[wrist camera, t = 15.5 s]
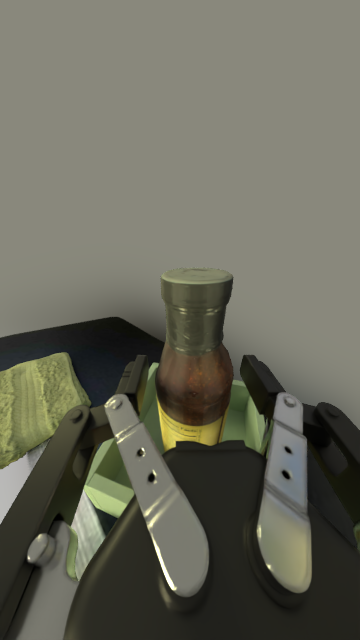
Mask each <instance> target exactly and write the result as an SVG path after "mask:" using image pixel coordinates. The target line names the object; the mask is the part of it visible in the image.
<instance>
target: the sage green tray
mask: <svg viewBox="0 0 360 640" xmlns="http://www.w3.org/2000/svg"><path fill="white" fill-rule="evenodd" d="M158 365H159V364H158V363H153V364H152V366H151V367H150V369H149V375H148V380H147V385H146V390H145V394H144V399H143V404H142V408H141V413H140V416H138V418H139V420H140V421H142V422H143V423H144V425H145V426H146V428H147V430H148V432H149V434H150V435H151V437H152V439H153V441H154V443H155V445H156V446H157V448H158V450H159V452H160V454H161V455H162V454H163V453H164V452H165V451H164V446H163V439H162V431H161V424H160V416H159V409H158V402H157V396H156V389H155V376H156V371H157V368H158ZM264 429H265V421H264V416H263V415H259V413H258V411H257V409H256V406H255V404H254V402H253V400H252V398H251V396H250V394H249V392H248V390H247V388H246V386H245V384H244V382H242V381H237V380H233V383H232V387H231V399H230V404H229V409H228V414H227V418H226V423H225V427H224V432H223V437H222V442H223V441H226V440H244V442H245V445H246V446H247V447H250V448H252V449H254V450H256V451H257V452H259V450H260V447H261V443H262V438H263V434H264ZM84 491H85V492H86V494H87V495H88V497H89V498H90V499H91V501H92V502H93V504H94V505H95V507H97V508H99V509H101V510H103V511H104V512H106V513H108V514H110V515H112V516H114V517H116V518H119V517H120V515H121V514H122V512H123V511H124V509H125V508H126V506H127V504H128V503H129V501H130V500H131V498H132V497H133V495H134V492H133V489H132V486H131V483H130V480H129V478H128V475H127V472H126V469H125V466H124V463H123V460H122V458H121V455H120V452H119V449H118V447H117V444H116V441H115V438H113V439H110V440H107V441H105V442H103V444H102V446H101V447H100V449H99V450H98V452H97V453H96V455H95V457H94V459H93V462H92V465H91V468H90V471H89V474H88V477H87V480H86V483H85V486H84Z"/></svg>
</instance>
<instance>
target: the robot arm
mask: <svg viewBox="0 0 360 640" xmlns="http://www.w3.org/2000/svg"><path fill="white" fill-rule="evenodd" d="M148 375H149V368H148V359H147V355H138V356H137V358H136V361H135V362H130V363H129V364H128V365H127V366H126V368H125V370H124V373H123V375H122V378H121V380H120V383H119V385H118V388H117V390H116V392H115V395H114V396H112V397H111V398H110V399H109V400H108V401H107V402H106V403H105V404H103V405H100V406H97V407H94V408H89V406H87V405H83V404H82V405H78V406H75V407H73V408H72V409H70V410H69V411H68V412H67V413H66V414H65V416H64V417H63V419H62V421H61V422H60V424H59V426H58V428H57V429H56V431H55V433H54V434H53V436H52V438H51V439H50V441H49V443H48V445H47V446H46V448H45V450H44V451H43V453H42V455H41V456H40V458H39V460H38V462H37V463H36V465H35V467H34V468H33V470H32V472H31V473H30V475H29V477H28V478H27V480H26V482H25V484H24V486H23V487H22V489H21V490H20V492H19V494H18V495H17V497H16V499H15V501H14V502H13V504H12V506H11V508H10V509H9V511H8V513H7V514H6V516H5V518H4V519H3V521H2V523H1V524H0V640H360V430H359V429H358V428H357V427H356V426H355V425H354V424H353V423H352V422H351V421H350V419H349V418H348V417H347V416H346V415H345V414H344V413H343V412H342V411H341V410H339V409H338V408H337V407H335V406H333V405H331V404H329V403H325V402H321V403H318V405H317V406H316V407H315V406H311V405H307V404H303V403H301V402H300V401H299V400H298V399H297V398H296V397H295V396H293V395H291V394H289V393H286V391H285V390H284V389H283V387H282V386H281V385H280V383H279V382H278V380H277V379H276V378H275V376H274V375H273V374H272V372H271V371H270V369H269V368H268V367H267V366H266V365H265V364H264V363H263V362H261V361H258V360H257V358H256V357H255V356H254V355H244V356H243V359H242V363H241V367H240V375H241V377H242V379H243V381H244V384H245V386H246V388H247V390H248V392H249V394H250V396H251V398H252V400H253V402H254V404H255V406H256V409H257V411H258V413H259V415H266V416H267V421H266V425H265V429H264V434H263V438H262V443H261V447H260V450H259V452H257V451H256V450H254V449H252V448H250V447H247V446H246V445H245V442H244V440H226V441H223V442H220V443H218V444H215V445H212V446H209V445H206V444H202V443H199V442H195V441H176V447H173V448H171V449H169V450H167V451H166V452H164V453H163V454H162V455H161V454H160V452H159V450H158V448H157V446H156V445H155V443H154V441H153V439H152V437H151V435H150V434H149V432H148V430H147V428H146V426H145V425H144V423H143V422H142V421H140V420H139V418H138V416H140V413H141V408H142V404H143V399H144V394H145V390H146V385H147V380H148ZM113 438H115V441H116V444H117V447H118V449H119V452H120V455H121V458H122V460H123V463H124V466H125V469H126V472H127V475H128V478H129V480H130V483H131V486H132V489H133V492H134V495H133V497H132V498H131V500H130V501H129V503H128V504H127V506H126V508H125V509H124V511H123V512H122V514H121V515H120V517H119V518H118V520H117V521H116V523H115V524H114V526H113V527H112V529H111V530H110V532H109V533H108V535H107V536H106V538H105V539H104V541H103V542H102V544H101V545H100V547H99V548H98V550H97V551H96V553H95V554H94V556H93V558H92V559H91V561H90V562H89V564H88V566H87V567H86V569H85V571H84V573H83V575H82V577H81V579H80V581H78V579H77V577H76V573H75V558H76V553H77V548H78V537H77V534H76V532H75V531H74V530H73V529H72V528H71V525H72V522H73V519H74V516H75V513H76V510H77V507H78V504H79V501H80V498H81V495H82V492H83V489H84V486H85V483H86V480H87V477H88V474H89V471H90V468H91V465H92V462H93V459H94V456H95V453H96V450H97V447H98V444H99V443H102V442H105V441H107V440H110V439H113ZM333 441H334V442H335V443H336V445H337V446H338V447H339V449H340V450H341V452H342V453H343V454H344V456H345V457H346V459H347V461H346V459H345V458H344V457H343V455H342V454H341V453H340V451H339V450H338V448H337V447H336V446H335V444H334V443H333ZM307 445H308V447H309V449H310V450H311V452H312V454H313V456H314V457H315V459H316V461H317V462H318V464H319V466H320V467H321V469H322V471H323V472H324V474H325V476H326V477H327V479H328V481H329V483H330V484H331V486H332V488H333V489H334V491H335V493H336V494H337V496H338V498H339V499H340V501H341V503H342V504H343V506H344V508H345V510H346V511H347V513H348V515H349V516H350V518H351V520H352V521H353V523H354V525H353V531H354V535H355V538H356V541H357V548H358V550H359V551H358V550H357V549H356V548H355V547H354V546H353V545H352V544H351V543H350V542H349V541H348V540H347V539H346V538H345V537H344V536H343V535H342V534H341V533H340V532H339V531H338V530H337V529H336V528H335V527H334V526H333V525H332V524H331V523H330V522H329V521H328V520H327V519H326V518H325V517H324V516H323V515H322V514H321V513H320V512H319V511H318V510H317V509H316V508H315V507H314V506H313V505H312V504H311V503H310V502H309V501H308V500H307Z"/></svg>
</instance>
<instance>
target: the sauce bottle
mask: <svg viewBox="0 0 360 640" xmlns="http://www.w3.org/2000/svg"><path fill="white" fill-rule="evenodd" d="M232 284H233V276H232V274H230V273H229V272H227V271H224V270H219V269H212V268H180V269H173V270H170V271H167V272H165V273H164V274H163V275H162V276H161V295H162V299H163V300H164V302H165V306H166V320H167V330H166V342H165V346H164V349H163V353H162V356H161V360H160V363H159V365H158V368H157V371H156V376H155V389H156V396H157V402H158V409H159V416H160V424H161V431H162V439H163V446H164V451H165V452H166V451H167V450H169V449H171V448H173V447H176V441H195V442H199V443H202V444H206V445H209V446H212V445H215V444H218V443H220V442H222V437H223V432H224V427H225V423H226V418H227V414H228V409H229V404H230V399H231V387H232V383H233V376H234V375H233V366H232V363H231V359H230V357H229V353H228V350H227V349H226V348H225V347H224V345H223V344H222V340H223V324H224V318H225V311H226V305H227V304H228V302H229V299H230V297H231V291H232Z"/></svg>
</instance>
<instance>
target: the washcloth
mask: <svg viewBox="0 0 360 640" xmlns="http://www.w3.org/2000/svg"><path fill="white" fill-rule="evenodd" d="M71 364H72V363H71V359H70V357H69V355H68V353H57V354H53V355H51V356H48V357H45V358H41V359H38V360H33V361H28V362H24V363H21V364H18V365H16V366H14V367H12V368H10V369H8V370H6V371H2V372H0V469H3V468H4V467H6V466H8V465H9V464H10V463H11V462H14V461H17V460H18V459H19V458H22V457H23V456H24V455H25V454H26V452H27V451H29V450H30V449H32V448H34V447H36V446H37V445H39V444H41V443H42V442H44V441H45V440H47V439H48V438H50V437H52V436H53V434H54V433H55V431H56V429H57V428H58V426H59V424H60V422H61V421H62V419H63V417H64V416H65V414H66V413H67V412H68V411H69V410H70V409H72V408H73V407H75V406H78V405H82V404H83V405H87V406H89V407H90V405H91V401H90V400H89V399H88V397H89V396H87V394H86V393H85V391H84V389H82V387H81V385H80V383H79V381H78V379H77V376H76V375H75V373H74V370H73V367H72V365H71Z"/></svg>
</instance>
